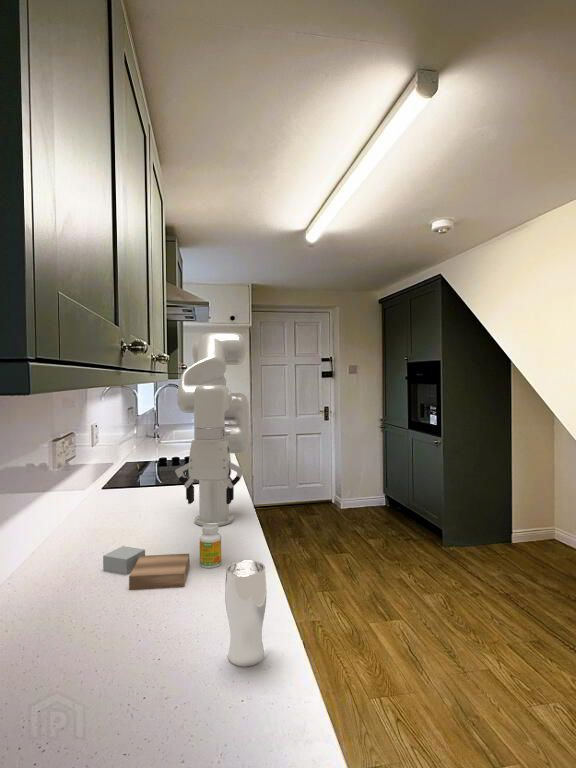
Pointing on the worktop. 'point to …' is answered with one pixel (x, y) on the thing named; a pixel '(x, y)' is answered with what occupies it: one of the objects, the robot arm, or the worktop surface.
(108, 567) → the slate block
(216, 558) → the supplement bottle
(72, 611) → the worktop surface
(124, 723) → the worktop surface
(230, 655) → the beer glass
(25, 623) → the worktop surface
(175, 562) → the walnut block
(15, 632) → the worktop surface
